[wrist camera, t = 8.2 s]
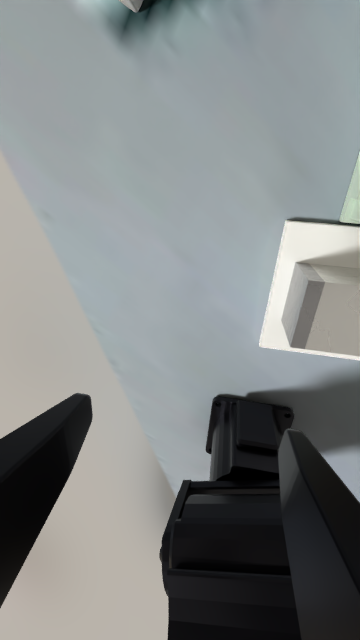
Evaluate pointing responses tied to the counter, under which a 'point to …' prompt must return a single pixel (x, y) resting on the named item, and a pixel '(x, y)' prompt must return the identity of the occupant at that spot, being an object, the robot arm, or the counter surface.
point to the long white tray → (313, 248)
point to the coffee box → (132, 4)
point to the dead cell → (323, 309)
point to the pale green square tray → (352, 198)
